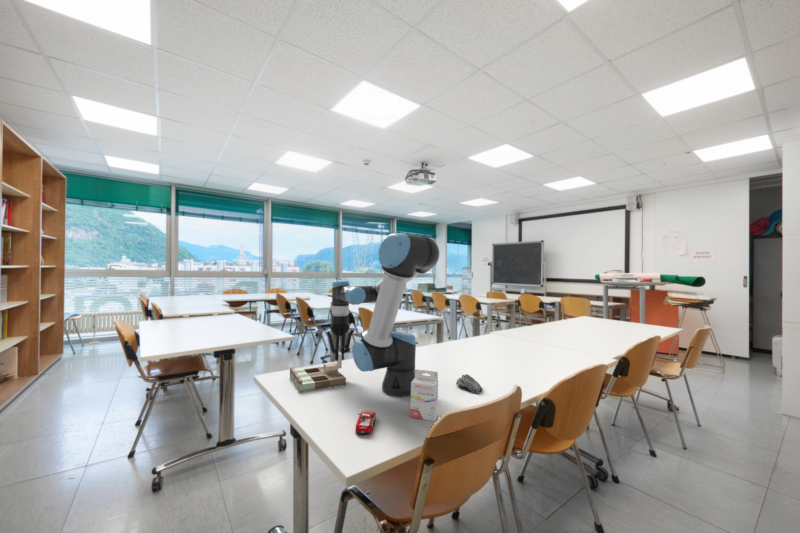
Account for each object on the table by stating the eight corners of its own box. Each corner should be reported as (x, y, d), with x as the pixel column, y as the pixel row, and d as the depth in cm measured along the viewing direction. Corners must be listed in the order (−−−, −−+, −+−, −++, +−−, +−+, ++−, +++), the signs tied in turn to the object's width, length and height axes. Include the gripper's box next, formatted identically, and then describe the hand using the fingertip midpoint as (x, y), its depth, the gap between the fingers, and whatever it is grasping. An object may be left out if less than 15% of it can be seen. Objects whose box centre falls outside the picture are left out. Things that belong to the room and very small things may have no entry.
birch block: (337, 373, 144) (338, 365, 144) (326, 374, 141) (326, 366, 141) (334, 370, 148) (334, 362, 148) (323, 371, 146) (323, 363, 146)
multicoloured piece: (345, 385, 138) (345, 374, 138) (299, 392, 129) (299, 380, 129) (331, 371, 155) (331, 362, 155) (289, 377, 146) (290, 367, 146)
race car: (360, 416, 109) (361, 404, 109) (377, 417, 109) (377, 405, 109) (352, 436, 96) (353, 422, 96) (371, 437, 95) (371, 423, 96)
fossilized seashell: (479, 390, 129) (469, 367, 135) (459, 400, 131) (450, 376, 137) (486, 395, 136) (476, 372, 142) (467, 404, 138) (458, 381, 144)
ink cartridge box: (409, 417, 108) (410, 372, 108) (413, 411, 113) (414, 368, 113) (435, 421, 105) (436, 375, 106) (438, 415, 110) (438, 371, 110)
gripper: (351, 313, 154) (350, 363, 153) (323, 314, 147) (322, 367, 147) (356, 315, 147) (355, 368, 147) (328, 316, 141) (326, 371, 141)
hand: (339, 367), depth 147 cm, fingers closed
